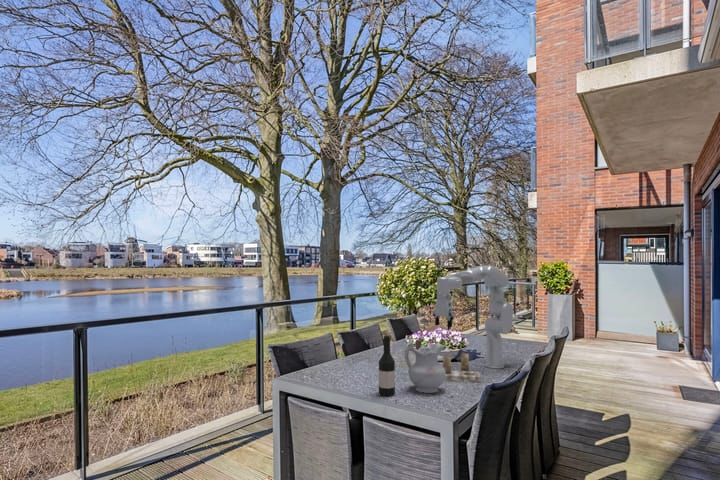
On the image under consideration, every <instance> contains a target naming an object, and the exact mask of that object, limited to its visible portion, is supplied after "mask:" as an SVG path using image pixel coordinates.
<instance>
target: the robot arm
mask: <svg viewBox="0 0 720 480" xmlns="http://www.w3.org/2000/svg"><path fill="white" fill-rule="evenodd" d="M481 280H483V282H484V284H485V286H487V288H488V290H489V295H490V296H489V305H488V312H489V314H491V315H492V317H491V316H490V317H488V318H486V319H485V322H484V329H485V333H486V335H485V336H486V362H485V363H484V364H483V365H484V367H485V368H489V369H504V368H505V365H511V362H510V361H507V360H504V359H503V341H502V335H508V334H510V333H511V331H512V327H513V319H514V318H513V317H514V307H513V305H512V304H511V303H510V302H508V301H504V299H505V298H504V297H505V296H504V295H505V293H504V290H503V288H505V287H507V286H508V285H509V281H510V280H509V277H508V275H507V274H505V273H504V272H503V271H501V270H500V269H498V268H497V266H496V267H495V266H493V265H478V266H475V267H473V268H470V269H467V270H463V271H458V272H453V273H450V274H447V275H444V276H440V277H437V279H436V292H437V293H436V301H435V307H434V309H433V310H431V313H432V317H434V325H435V326H440V317H444V318H446V319H448V320H447V328H453V320H455V316H456V312H455V311H453V304H452V300H451V298H452V297H451V295H450V293H451V290H459V289H461V287H462V286H463V285H465V284H466V285H468V284H473V283H475V282H479V281H481ZM494 316H497V317H494ZM501 334H502V335H501Z"/></svg>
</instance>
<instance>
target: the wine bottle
mask: <svg viewBox="0 0 720 480" xmlns="http://www.w3.org/2000/svg"><path fill="white" fill-rule="evenodd" d="M395 365H396V362H395V359H394V357H393V355H392V354H391V337H390V335H389V334H384V336H383V354H382V356H381V357H380V358H379V360H378V395H379V394H380V395H381V397H384V396H385V397H386V398H391V397H394V396H395V395H394V394H396V381H395V380H396V371H395V370H396V366H395ZM380 395H379V396H380ZM390 396H391V397H390Z"/></svg>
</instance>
